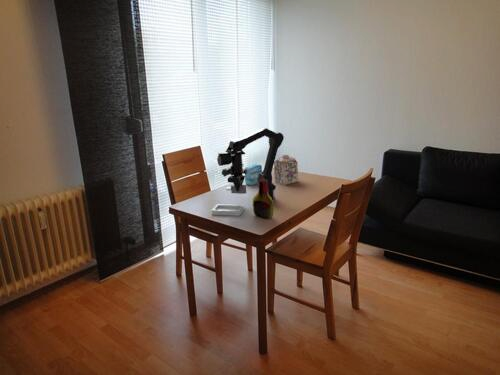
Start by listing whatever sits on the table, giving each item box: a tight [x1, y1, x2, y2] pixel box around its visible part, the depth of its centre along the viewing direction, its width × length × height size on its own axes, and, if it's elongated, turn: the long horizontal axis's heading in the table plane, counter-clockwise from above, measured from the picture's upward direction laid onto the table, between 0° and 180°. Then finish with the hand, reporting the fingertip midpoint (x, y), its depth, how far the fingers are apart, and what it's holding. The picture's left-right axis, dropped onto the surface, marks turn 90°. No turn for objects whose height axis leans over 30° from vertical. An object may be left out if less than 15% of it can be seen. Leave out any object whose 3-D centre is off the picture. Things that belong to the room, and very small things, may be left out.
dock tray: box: [211, 204, 245, 217], centre depth 192 cm, size 15×9×2 cm, turn 76°
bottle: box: [252, 179, 275, 219], centre depth 180 cm, size 12×6×20 cm, turn 50°
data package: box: [244, 163, 263, 186], centre depth 239 cm, size 12×4×12 cm, turn 134°
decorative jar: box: [273, 154, 299, 186], centre depth 237 cm, size 12×12×18 cm
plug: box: [225, 184, 247, 195], centre depth 199 cm, size 11×4×4 cm, turn 76°
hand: (238, 190), depth 199 cm, fingers closed on plug, 4 cm apart
